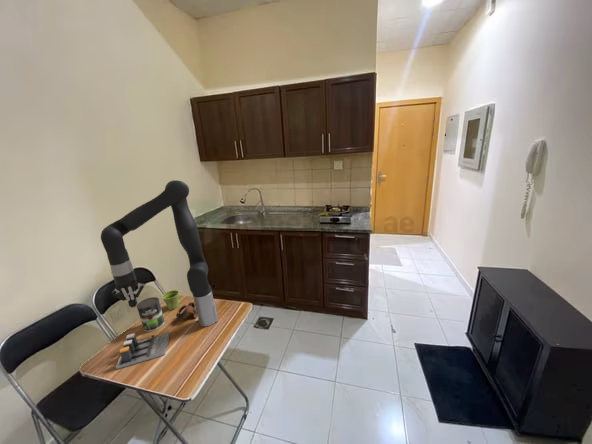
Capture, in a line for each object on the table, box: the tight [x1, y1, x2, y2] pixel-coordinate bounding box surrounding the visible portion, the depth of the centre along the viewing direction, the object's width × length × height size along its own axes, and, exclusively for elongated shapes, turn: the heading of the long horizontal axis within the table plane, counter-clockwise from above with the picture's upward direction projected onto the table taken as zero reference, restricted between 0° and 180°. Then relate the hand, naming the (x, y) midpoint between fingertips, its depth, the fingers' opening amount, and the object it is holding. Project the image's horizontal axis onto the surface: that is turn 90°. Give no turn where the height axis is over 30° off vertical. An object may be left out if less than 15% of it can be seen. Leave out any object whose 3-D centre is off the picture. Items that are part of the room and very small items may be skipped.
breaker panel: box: [115, 332, 170, 370], centre depth 115 cm, size 19×14×2 cm
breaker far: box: [125, 333, 138, 346], centre depth 116 cm, size 3×2×5 cm
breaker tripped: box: [119, 346, 132, 362], centre depth 108 cm, size 3×2×5 cm
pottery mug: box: [175, 301, 198, 321], centre depth 137 cm, size 12×10×8 cm
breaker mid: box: [122, 340, 135, 353], centre depth 112 cm, size 3×2×5 cm
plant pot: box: [161, 289, 180, 311], centre depth 147 cm, size 9×9×9 cm
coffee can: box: [136, 296, 166, 333], centre depth 131 cm, size 10×10×14 cm
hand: (133, 306), depth 110 cm, fingers closed
